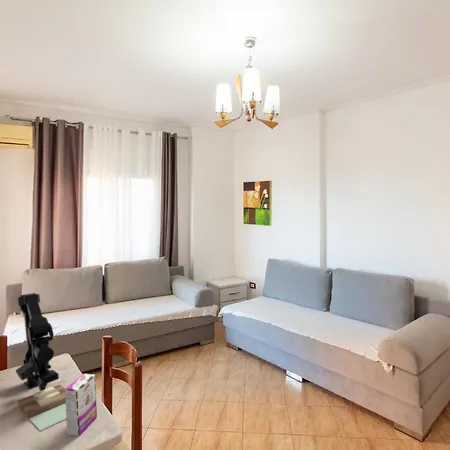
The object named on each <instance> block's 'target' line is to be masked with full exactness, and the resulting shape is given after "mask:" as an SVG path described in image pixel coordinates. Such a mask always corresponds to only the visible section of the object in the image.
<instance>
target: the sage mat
mask: <svg viewBox="0 0 450 450" xmlns="http://www.w3.org/2000/svg"><path fill="white" fill-rule="evenodd" d="M29 421H30V422H31V423H32V424H33V426H35V427H36V428H37V429H38V430H39V432H43V431H44V430H46V429H49V428H50V427H53V426H56V425H58V424H60V423H62V422H63V421H67V420H66V403H65V404H62V405H60V406H58V407H55V408H53V409H51V410H48V411H46V412H44V413H41V414H39V415H36V416H34V417H32V418H29Z"/></svg>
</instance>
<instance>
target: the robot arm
mask: <svg viewBox="0 0 450 450" xmlns="http://www.w3.org/2000/svg"><path fill="white" fill-rule="evenodd" d="M40 298H41V297H40V294H39V293H35V292H33V293H26V294H25V293H24V294H19V297H17V298H16V305H17V307H18V310H19V311H20V313H22V314H23V319H24V329H25V338H26V339H25V340H26V347H27V348H26V351H25V352H24V355H23V359H22V363H21V366H19V367H18V368H17V369H15V373H16V375H17V376H18V378H19V379H20V380H21V381H24V380H26V381H24V382H23V385H25V386H26V387H27V389H33V388H34V387H38V389H39V391H42V390H44V389H47V385H48V384H50V383H52V382H55V381H58V380H59V379H60V378H59V377H60V375H59V373H58V372H57V371H56V370H54V369H52V365H51V364H50V361H51V360H52V359H53V358H54V355H55V353H54V352H55V351H54V350H53V348H52V347H51V345H50V341H53V340H54V336H55V334H54V330H53V326H52V324H51V323H49V320H48V318H47V317H45V316H43V313H42V310H41V307H40V303H41V299H40Z"/></svg>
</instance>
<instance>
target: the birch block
mask: <svg viewBox="0 0 450 450" xmlns="http://www.w3.org/2000/svg"><path fill="white" fill-rule="evenodd" d="M33 395H34V400H35V401H36V402H37V403H38V404H39V405H40V406H44V405H46V404H48V403H51V402H53V401H56V400H58V399H60V392H58V391H57V390H56V389H55V388H54V386H49V387H46V388H45V389H44V390H42V391H40V390H39V391H36V392H35V393H33Z"/></svg>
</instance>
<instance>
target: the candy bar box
mask: <svg viewBox="0 0 450 450" xmlns="http://www.w3.org/2000/svg"><path fill="white" fill-rule="evenodd" d="M96 388H97V387H96V374H91V373H83V374H81V375H80V376H79V377H78V378H76V379H75V380H74V381H73V382H71V384H69V385H68V386H67V387H66V388H65V403H66V420H65V421H66V435H67V436H73V437H80V436H82V434H83V433H84V432H85V431H86V430H87V428H89V426H91V424H92V423H93V422H94V421H95V420H96V419H97V417H98V413H97V410H98V409H97V389H96Z"/></svg>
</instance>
